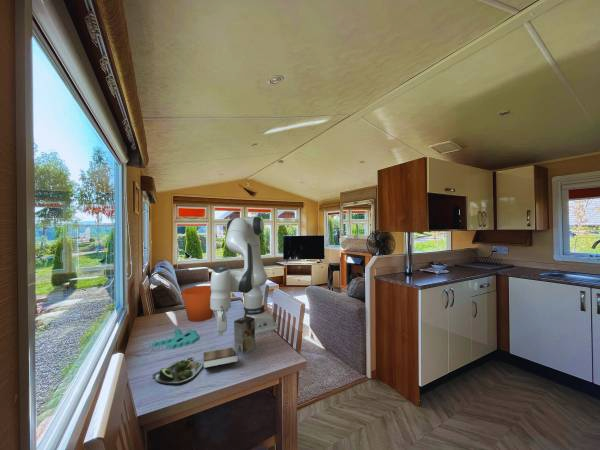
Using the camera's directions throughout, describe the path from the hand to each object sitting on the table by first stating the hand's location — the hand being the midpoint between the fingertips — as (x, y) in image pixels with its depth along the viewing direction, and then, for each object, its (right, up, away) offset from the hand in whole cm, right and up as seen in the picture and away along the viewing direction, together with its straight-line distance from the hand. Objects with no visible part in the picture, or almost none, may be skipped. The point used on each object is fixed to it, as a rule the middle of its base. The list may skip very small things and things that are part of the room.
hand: (220, 334), depth 113 cm
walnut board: (-4, -16, +11) cm, 20 cm away
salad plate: (-18, -17, -2) cm, 25 cm away
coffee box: (+7, -17, +19) cm, 26 cm away
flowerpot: (-35, -17, +67) cm, 78 cm away
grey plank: (0, -14, +2) cm, 14 cm away
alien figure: (-33, -17, +31) cm, 49 cm away
